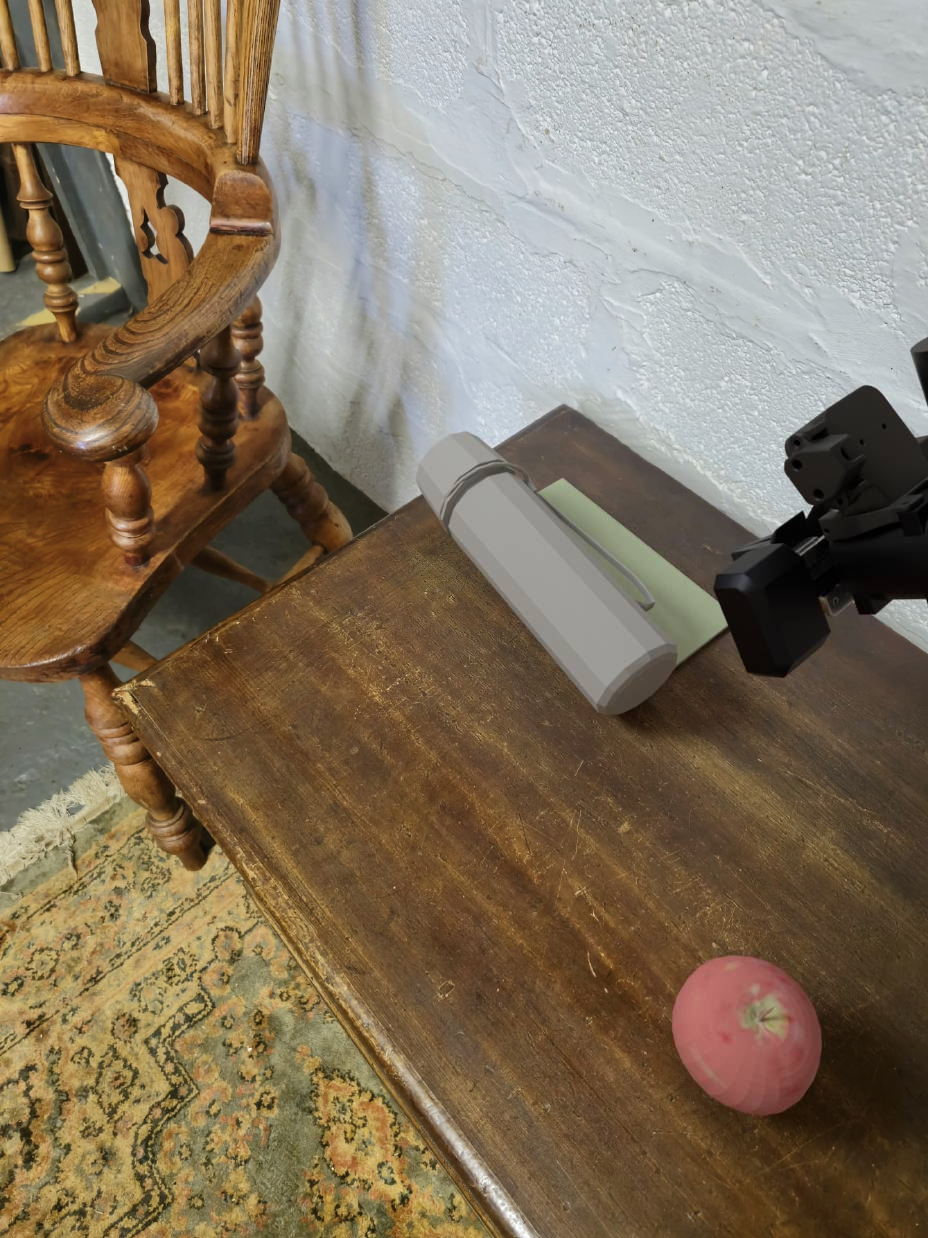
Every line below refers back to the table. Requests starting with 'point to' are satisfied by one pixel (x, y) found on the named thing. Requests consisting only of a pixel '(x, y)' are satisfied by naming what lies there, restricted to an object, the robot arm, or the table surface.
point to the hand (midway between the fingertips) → (736, 558)
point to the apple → (747, 1034)
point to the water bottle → (548, 574)
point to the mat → (644, 573)
